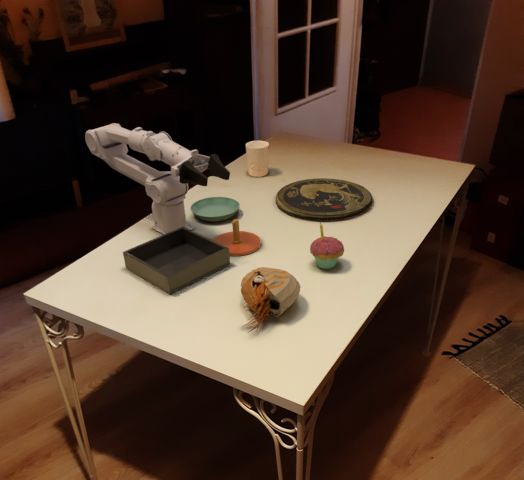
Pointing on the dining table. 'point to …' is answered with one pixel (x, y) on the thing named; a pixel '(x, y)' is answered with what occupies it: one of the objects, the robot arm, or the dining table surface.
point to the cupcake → (326, 250)
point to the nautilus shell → (269, 292)
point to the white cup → (257, 158)
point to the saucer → (215, 208)
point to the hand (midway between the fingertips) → (217, 179)
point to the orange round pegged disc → (239, 241)
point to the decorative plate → (324, 199)
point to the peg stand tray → (176, 259)
